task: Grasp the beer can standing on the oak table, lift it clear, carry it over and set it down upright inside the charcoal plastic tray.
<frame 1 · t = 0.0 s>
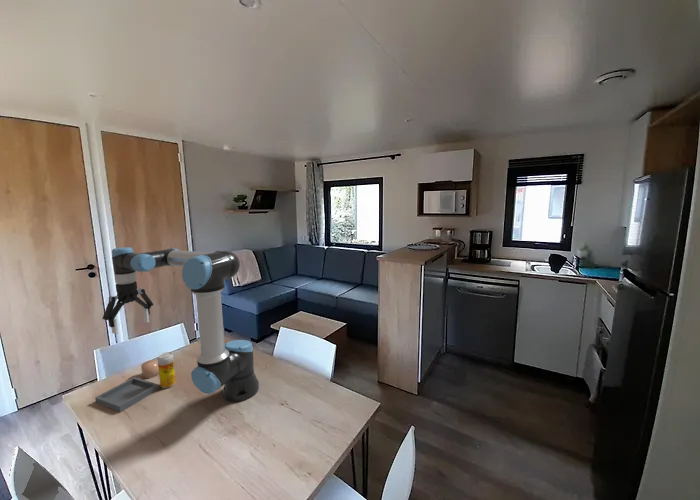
hand: (131, 327, 134), 28 cm above the table, fingers open, 13 cm apart
light brown rounded lump: (151, 374, 145), on the table
tray: (128, 396, 129), on the table
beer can: (168, 385, 137), on the table
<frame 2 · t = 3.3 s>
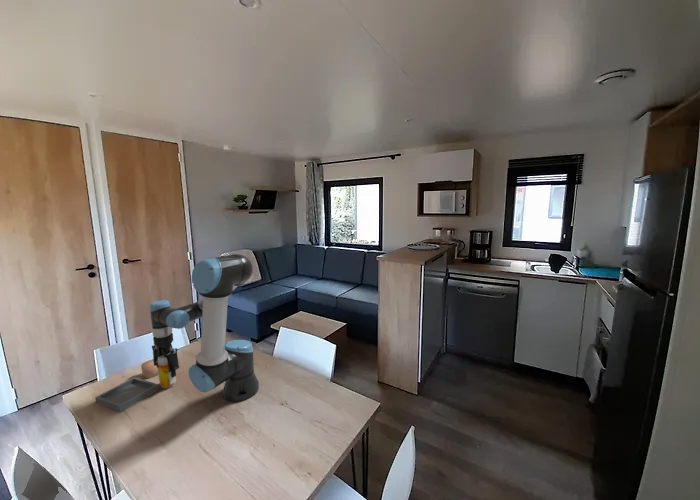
hand: (167, 381, 136), 2 cm above the table, fingers closed on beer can, 6 cm apart
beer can: (168, 385, 137), on the table, touching gripper
everything else where it was.
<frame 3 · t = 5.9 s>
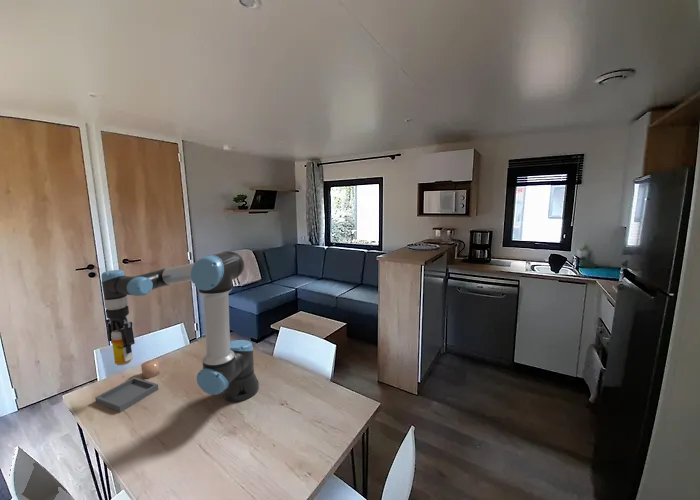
hand: (123, 358, 126), 18 cm above the table, fingers closed on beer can, 6 cm apart
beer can: (124, 362, 127), point 16 cm above the table, touching gripper
everything else where it was.
when the fingers open (4 cm above the table, at t = 8.9 s): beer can drops 2 cm, resting on tray.
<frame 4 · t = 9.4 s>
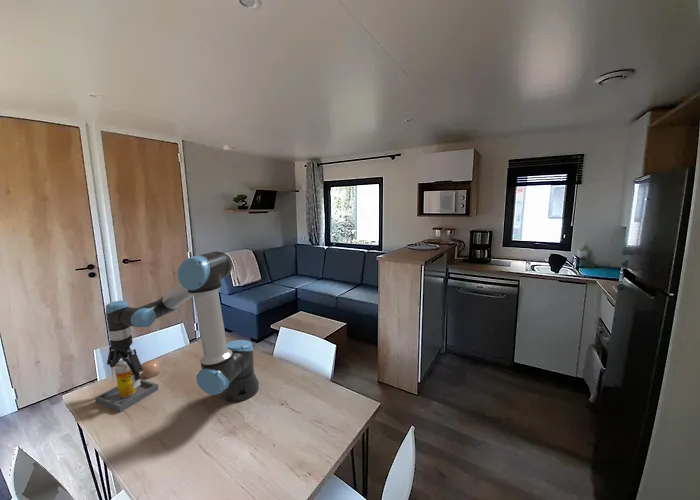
hand: (126, 383, 128), 6 cm above the table, fingers open, 13 cm apart
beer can: (128, 394, 129), point 1 cm above the table, touching tray
everything else where it was.
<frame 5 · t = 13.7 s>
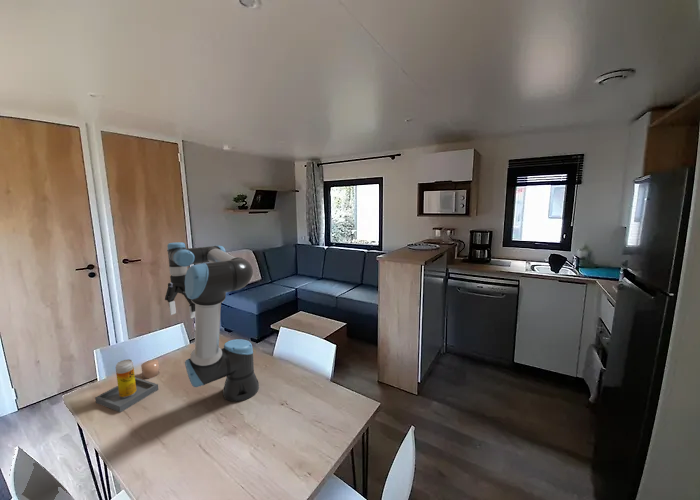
hand: (182, 315, 145), 29 cm above the table, fingers open, 13 cm apart
nothing on the table moved.
at the end: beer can inside the target area on the tray (0.1 cm from its centre), point 0.6 cm above the tray's base; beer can tilted 0°; the gripper is holding nothing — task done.
